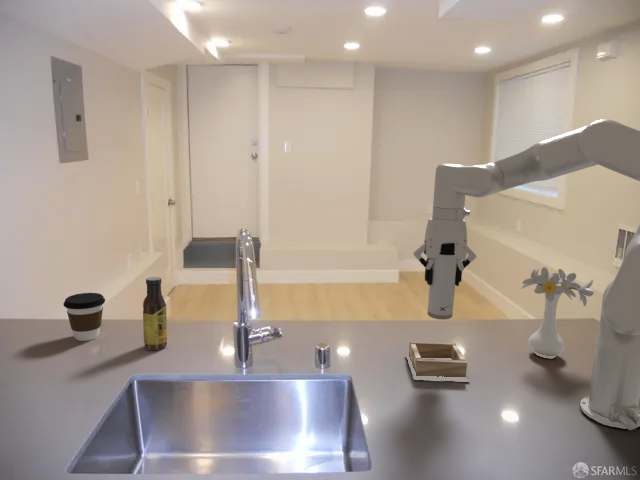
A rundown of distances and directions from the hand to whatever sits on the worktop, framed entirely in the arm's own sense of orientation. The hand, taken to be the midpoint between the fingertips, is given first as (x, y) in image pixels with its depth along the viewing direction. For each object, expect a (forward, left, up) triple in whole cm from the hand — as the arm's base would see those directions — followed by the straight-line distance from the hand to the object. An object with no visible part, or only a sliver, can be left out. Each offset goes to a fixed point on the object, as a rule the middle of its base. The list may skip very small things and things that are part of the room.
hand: (442, 283), depth 128 cm
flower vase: (+12, -34, -24) cm, 43 cm away
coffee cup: (+13, +99, -24) cm, 103 cm away
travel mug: (0, 0, -9) cm, 9 cm away
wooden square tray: (0, 0, -24) cm, 24 cm away
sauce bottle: (+8, +77, -24) cm, 81 cm away
